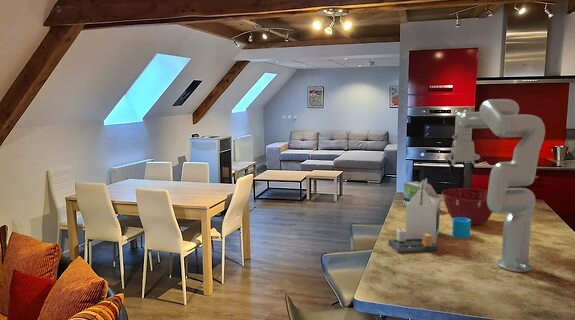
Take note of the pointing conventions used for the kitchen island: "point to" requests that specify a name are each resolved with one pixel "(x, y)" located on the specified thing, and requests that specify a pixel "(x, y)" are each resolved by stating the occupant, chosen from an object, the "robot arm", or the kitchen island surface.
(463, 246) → the kitchen island surface
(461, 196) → the mixing bowl
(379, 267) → the kitchen island surface
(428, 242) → the fader orange
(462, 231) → the mug
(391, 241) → the console
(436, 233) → the gable box
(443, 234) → the kitchen island surface
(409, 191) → the tea box
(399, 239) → the fader ivory
